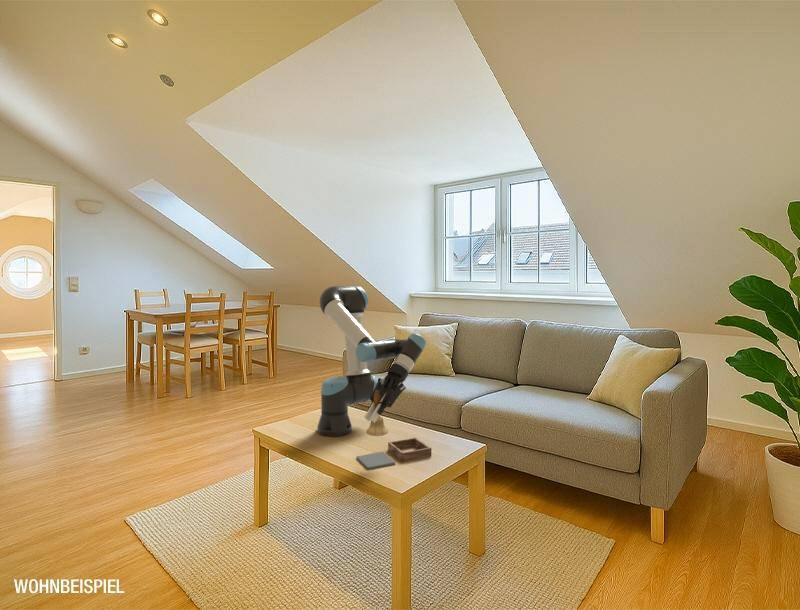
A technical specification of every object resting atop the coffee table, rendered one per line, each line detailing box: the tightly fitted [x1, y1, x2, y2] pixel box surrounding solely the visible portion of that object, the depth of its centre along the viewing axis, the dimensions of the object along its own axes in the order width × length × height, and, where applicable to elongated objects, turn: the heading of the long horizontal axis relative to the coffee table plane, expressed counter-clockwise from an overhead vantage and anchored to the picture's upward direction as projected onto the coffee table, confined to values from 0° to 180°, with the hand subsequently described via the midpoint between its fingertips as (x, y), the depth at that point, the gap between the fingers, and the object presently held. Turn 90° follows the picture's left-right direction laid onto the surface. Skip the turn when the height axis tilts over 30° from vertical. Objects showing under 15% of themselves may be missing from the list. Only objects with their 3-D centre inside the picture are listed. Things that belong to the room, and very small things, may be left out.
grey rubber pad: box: [356, 451, 396, 470], centre depth 177 cm, size 11×11×1 cm
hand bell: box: [365, 390, 389, 437], centre depth 175 cm, size 8×8×16 cm
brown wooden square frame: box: [387, 437, 432, 462], centre depth 186 cm, size 13×13×3 cm
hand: (369, 419), depth 172 cm, fingers closed on hand bell, 2 cm apart
